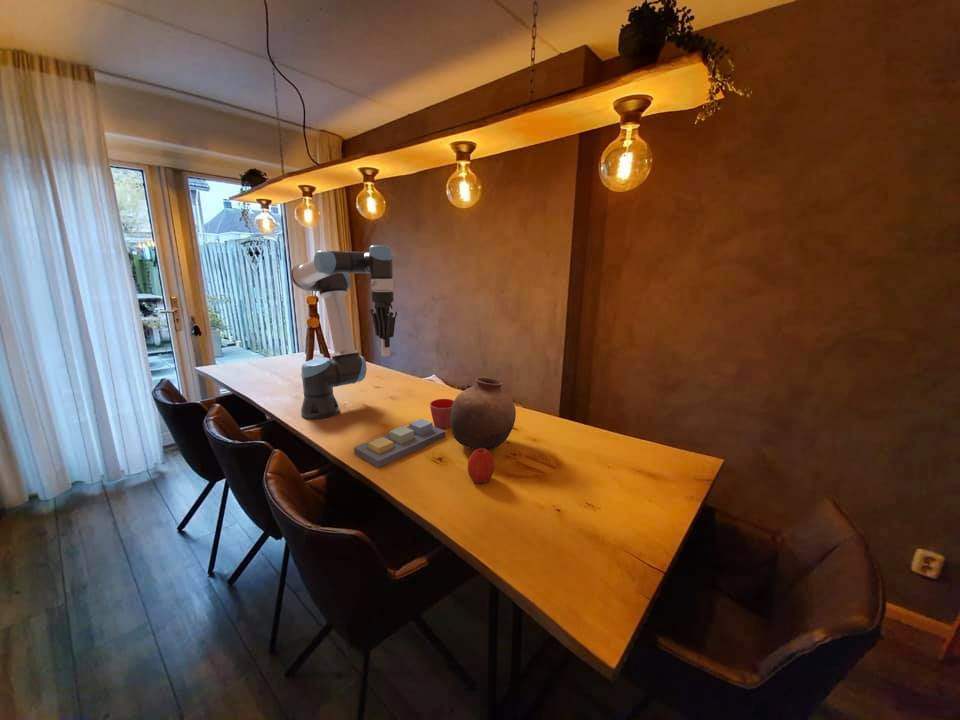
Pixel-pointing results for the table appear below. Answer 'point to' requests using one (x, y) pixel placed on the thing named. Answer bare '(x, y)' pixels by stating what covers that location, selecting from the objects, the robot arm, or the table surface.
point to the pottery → (482, 415)
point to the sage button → (401, 435)
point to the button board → (398, 448)
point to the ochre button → (380, 445)
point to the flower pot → (441, 412)
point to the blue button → (421, 427)
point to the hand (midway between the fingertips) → (385, 355)
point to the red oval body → (481, 466)
